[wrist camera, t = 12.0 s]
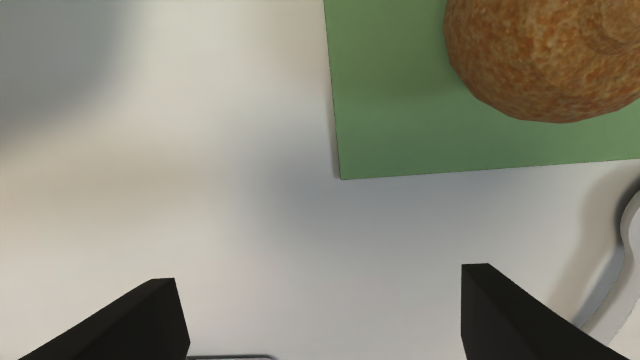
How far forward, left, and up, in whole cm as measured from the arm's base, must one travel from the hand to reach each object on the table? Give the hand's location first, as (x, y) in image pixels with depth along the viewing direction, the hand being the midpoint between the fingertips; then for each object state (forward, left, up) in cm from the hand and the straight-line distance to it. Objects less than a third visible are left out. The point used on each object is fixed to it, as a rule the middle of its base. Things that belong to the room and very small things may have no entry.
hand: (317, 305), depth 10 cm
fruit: (-7, -6, -9) cm, 13 cm away
